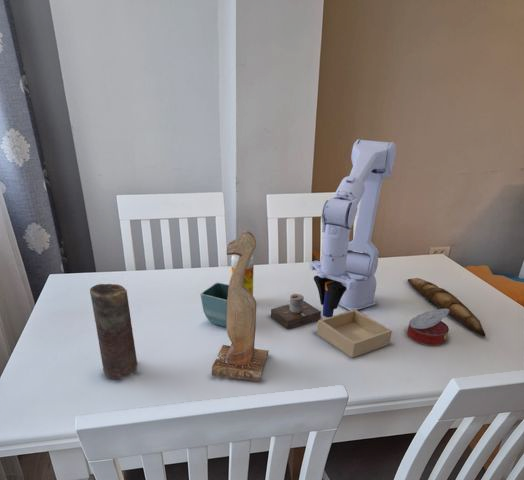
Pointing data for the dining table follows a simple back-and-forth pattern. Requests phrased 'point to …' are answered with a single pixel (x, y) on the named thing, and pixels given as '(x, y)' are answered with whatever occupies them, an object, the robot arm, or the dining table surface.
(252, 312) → the bird sculpture
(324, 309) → the marker
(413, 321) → the canned food
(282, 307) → the block
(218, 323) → the flower pot
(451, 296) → the bread
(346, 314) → the open wooden box
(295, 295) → the grey dial knob
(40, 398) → the dining table surface
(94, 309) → the candle
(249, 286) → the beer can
